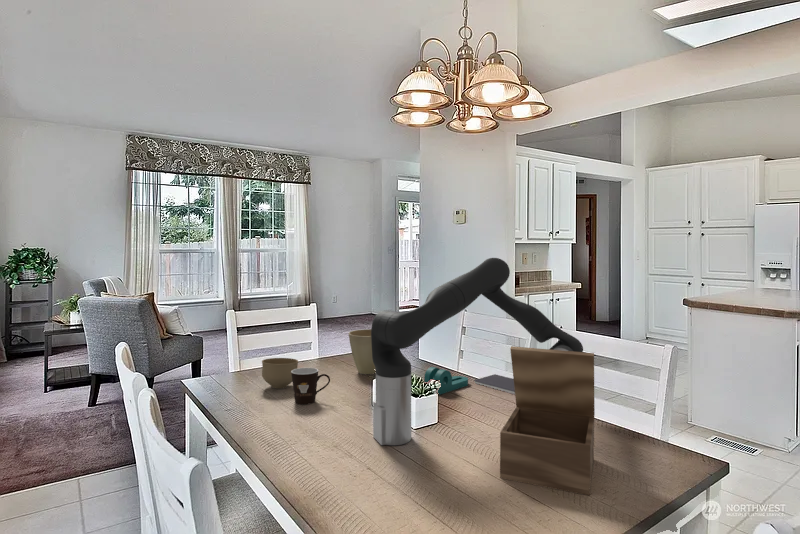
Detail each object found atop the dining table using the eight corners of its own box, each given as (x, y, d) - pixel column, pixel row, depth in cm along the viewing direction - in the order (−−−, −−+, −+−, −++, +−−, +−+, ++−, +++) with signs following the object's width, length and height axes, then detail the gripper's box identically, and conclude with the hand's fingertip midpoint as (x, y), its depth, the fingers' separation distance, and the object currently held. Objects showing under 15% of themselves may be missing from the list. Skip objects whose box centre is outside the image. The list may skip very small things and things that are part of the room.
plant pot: (341, 372, 191) (340, 332, 190) (370, 365, 201) (370, 328, 201) (364, 379, 180) (364, 337, 180) (394, 372, 190) (394, 332, 190)
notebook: (543, 390, 168) (494, 378, 184) (543, 386, 168) (494, 374, 184) (522, 398, 160) (473, 384, 176) (522, 393, 160) (473, 380, 176)
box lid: (516, 406, 120) (517, 403, 121) (594, 417, 112) (594, 414, 113) (510, 348, 112) (511, 346, 112) (593, 356, 104) (594, 353, 105)
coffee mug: (286, 403, 153) (285, 372, 152) (301, 396, 161) (301, 366, 160) (317, 408, 149) (317, 376, 148) (331, 400, 156) (331, 369, 156)
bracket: (439, 395, 162) (439, 372, 161) (424, 391, 167) (424, 368, 166) (471, 384, 174) (472, 363, 174) (457, 380, 179) (457, 360, 179)
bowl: (306, 385, 173) (305, 358, 172) (279, 395, 162) (279, 365, 162) (281, 380, 180) (280, 353, 179) (254, 389, 169) (253, 360, 168)
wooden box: (516, 446, 120) (516, 406, 120) (593, 459, 113) (594, 417, 112) (500, 477, 104) (500, 432, 103) (589, 495, 96) (590, 446, 96)
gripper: (534, 348, 132) (524, 362, 116) (586, 352, 126) (583, 368, 111) (534, 375, 132) (524, 393, 116) (585, 380, 127) (582, 400, 111)
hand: (552, 381), depth 113 cm, fingers closed
